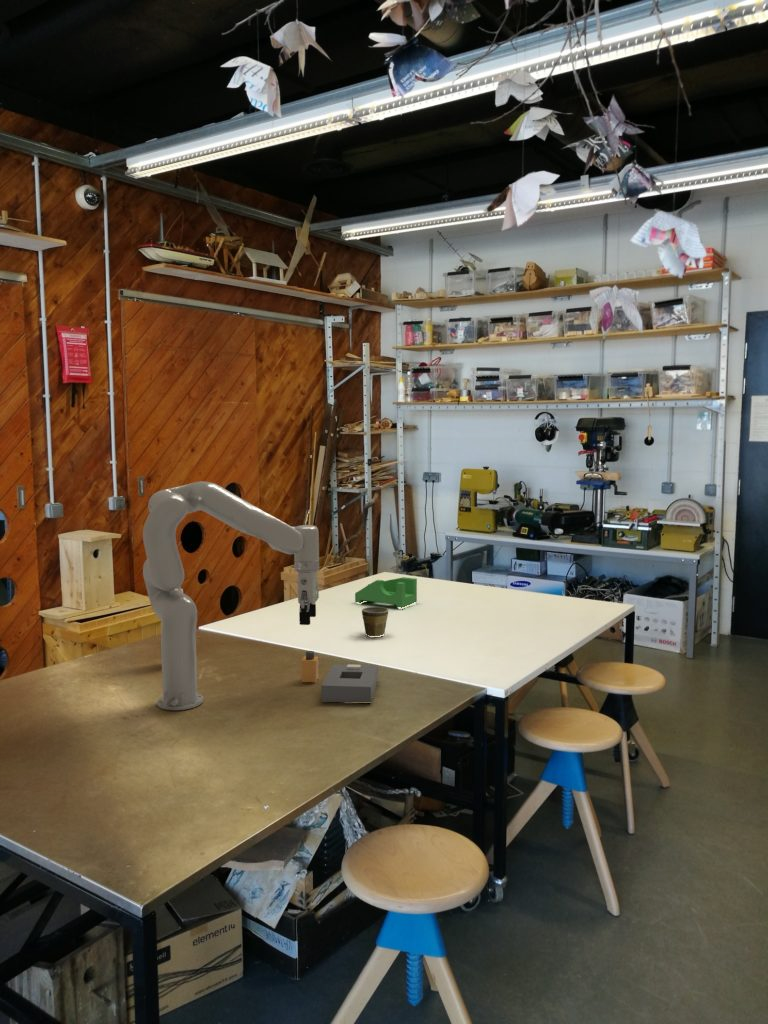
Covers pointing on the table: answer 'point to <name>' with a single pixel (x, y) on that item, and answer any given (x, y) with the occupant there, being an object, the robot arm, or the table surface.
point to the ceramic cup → (375, 620)
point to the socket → (350, 683)
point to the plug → (309, 667)
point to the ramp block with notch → (390, 592)
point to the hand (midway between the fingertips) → (307, 620)
